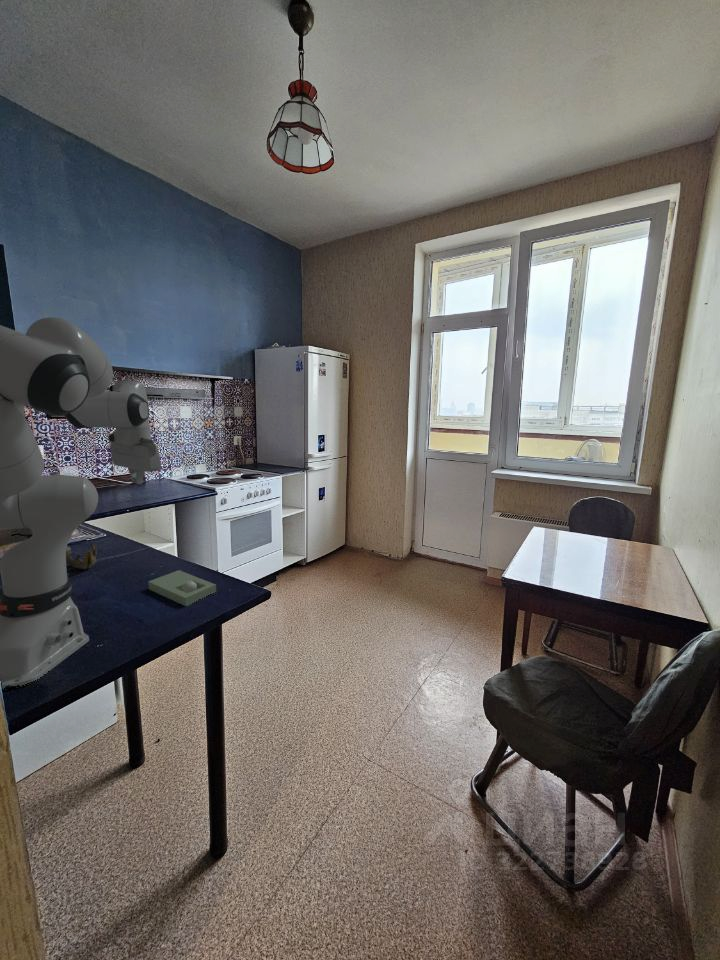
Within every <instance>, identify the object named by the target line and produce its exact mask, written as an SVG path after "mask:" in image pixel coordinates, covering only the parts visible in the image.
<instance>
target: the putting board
mask: <svg viewBox="0 0 720 960" xmlns="http://www.w3.org/2000/svg"><path fill="white" fill-rule="evenodd" d="M187 581H194V582H195V583H196V584H197V589H196V590H194V591H192V592H190V593H186V592H183V590H182V586H183V584H184V583H185V582H187ZM147 583H148V584H147V585H148V590H150V591H151V592H154V593H156V594H158V595H160V596H162V597H164V598H167V599H169V600H171V601H173V602H175V603H178V604H181V605H182V606H184V607H189V606H190V605H192V603H193V604H195V603H196V601H197V602H198V600H199V599H201V600H203V599H205V598H207V597H206V596H208V595H210V594H212V595H214V594H216V593H217V584H215V583H213V582H210V581H208V580H205V579H202V578H199V577H197V576H195V575H193V574H191V573H187V572H184V571H182V570H176V571H172V572H170V573H167V574H165V575H161V576H160V577H157V578H154V579H151V580H148V582H147ZM215 592H216V593H215ZM213 593H214V594H213ZM210 596H211V595H210ZM204 597H205V598H204ZM208 597H209V596H208ZM202 598H203V599H202ZM199 601H200V600H199ZM194 602H195V603H194Z"/></svg>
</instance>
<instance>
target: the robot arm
mask: <svg viewBox="0 0 720 960" xmlns="http://www.w3.org/2000/svg"><path fill="white" fill-rule="evenodd" d="M113 377H114V370H113V366H112V363H111V360H110V359H109V357H108V356H107V354H106V353H105V352H104V351H103V349H102V348H101V347H100V346H99V344H97V342H96V341H95V340H94V339H93V338H92V337H91V335H89V334H87V332H85V331H84V330H82V329H81V328H80V327H78V326H77V325H76V324H74V323H73V322H71V321H69V320H67V319H66V318H62V317H53V316H52V317H50V316H48V317H42V318H40V319H38V320H36V321H34V322H33V323H32V324H30V325H29V327H28V328H27V330H26V332H25V334H24V333H22V332H20V331H19V330H18V331H17V330H15V329H12V328H9V327H7V326H4V325H2V324H0V531H5V530H6V531H7V530H15V529H16V530H17V529H24V528H28V529H31V531H32V535H31V536H30V537H29V538H27V539H25V540H23V541H21V542H19V543H17V544H15V545H13V546H11V547H9V548H8V549H7V550H5V552H4V553H3V554H2V555H1V557H0V576H1V577H0V578H1V584H2V590H3V591H2V593H1V594H0V679H1V681H2V688H3V690H4V688H5V687H6V686H8V685H9V686H17V685H20V687H23V686H22V685H24V686H26V685H25V684H27V683H30V682H33V681H35V680H36V681H38V680H39V679H41V678H42V677H43V676H45V675H46V674H47V673H49V672H50V671H52V670H53V669H54V668H56V667H57V666H58V665H59V664H61V663H62V662H63V661H65V660H66V659H67V658H68V657H69V656H72V654H74V653H75V652H76V651H78V650H79V649H80V648H81V647H83V646H84V645H86V644H87V643H89V641H90V638H89V635H88V634H87V633H85V632H84V628H83V624H82V620H81V615H80V612H79V609H78V606H77V605H76V604H75V603H74V601H73V599H72V597H71V596H72V594H73V592H72V587H73V586H72V583H71V579H70V578H69V577H68V572H67V571H68V569H67V563H66V548H67V547H68V544H69V541H70V539H71V536H72V535H73V533H74V532H75V531H76V529H77V528H78V527H79V526H80V525H81V524H82V523H84V522H85V521H86V520H88V519H89V518H90V517H91V516H92V515H93V514H94V512H95V511H96V509H97V507H98V503H99V493H98V491H97V488H96V486H95V485H94V483H92V481H91V480H90V479H88V478H87V477H83V476H77V475H70V474H69V475H67V474H59V475H50V474H48V475H42V474H43V472H44V470H45V460H44V458H43V455H42V452H41V449H40V447H39V444H38V442H37V439H36V437H35V434H34V431H33V430H32V428H31V426H30V424H29V423H28V421H27V419H26V417H25V406H26V407H29V408H32V409H33V410H35V411H37V412H40V413H44V414H46V415H47V414H49V415H53V416H60V417H62V416H64V418H65V420H66V421H67V422H68V423H69V424H71V425H72V426H74V427H75V428H77V429H92V428H96V429H97V428H98V429H99V428H102V429H103V428H105V429H106V428H107V429H108V428H109V429H110V428H111V429H115V430H114V431H113V432H112V433H109V434H108V435H107V440H108V442H109V443H110V444H109V445H110V446H109V447H110V449H109V450H110V457H111V462H112V464H113V465H114V466H116V467H120V468H121V467H122V468H125V469H128V473H129V475H130V478H131V483H132V484H137V485H141V484H143V483H144V477H145V473H146V472H148V473H153V472H160V471H161V468H162V462H161V455H160V452H159V451H160V450H159V448H158V446H157V445H156V443H155V442H154V440H153V439H152V435H151V434H152V433H151V432H152V431H151V424H150V422H149V417H150V407H149V400H148V395H147V390H146V387H145V384H144V383H142V382H141V381H138V380H133V379H119V380H118V379H117V380H114V379H113ZM113 380H114V381H115V382H114V384H113V390H112V391H109V390H107V389H109V388H110V386H111V384H112V382H113ZM48 671H49V672H48ZM44 674H45V675H44ZM40 677H41V678H40ZM37 679H38V680H37ZM36 681H35V682H36ZM33 683H34V682H33ZM30 684H31V683H30ZM27 685H28V684H27Z"/></svg>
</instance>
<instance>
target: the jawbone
mask: <svg viewBox="0 0 720 960" xmlns="http://www.w3.org/2000/svg"><path fill="white" fill-rule="evenodd" d="M90 546H91V547H92V549H93V552H92V550H91V549H90V550H85V551H84V560H83V557H82V555H81V554H80V553H78V554H77V555H76V557H75V559H73V558H72V556H71V554H70V555H69V553H68V552H67V551H66V564H68V565H70V566H71V567H73V568H76V569H78V570H90V569H91V568H92V567H94V565H95V564H96V563H97V553H98V552H97V542H96V541H95V543H93V542H91V543H90ZM66 550H67V549H66Z"/></svg>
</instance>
